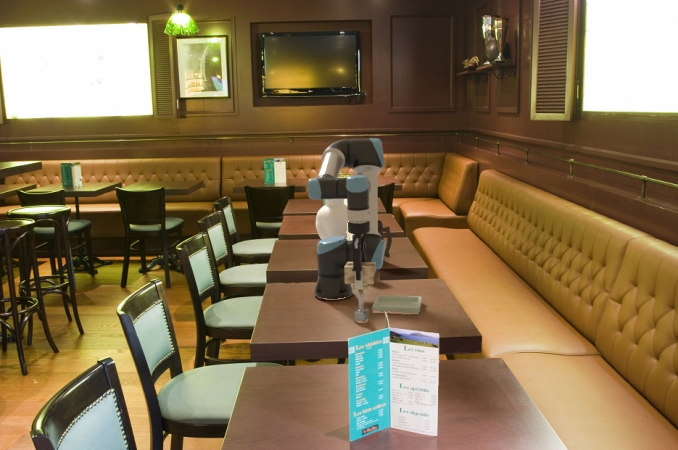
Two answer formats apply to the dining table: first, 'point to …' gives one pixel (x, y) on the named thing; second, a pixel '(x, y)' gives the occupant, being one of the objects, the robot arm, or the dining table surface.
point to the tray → (397, 304)
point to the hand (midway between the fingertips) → (360, 285)
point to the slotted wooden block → (368, 273)
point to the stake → (361, 305)
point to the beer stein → (389, 237)
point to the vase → (332, 219)
